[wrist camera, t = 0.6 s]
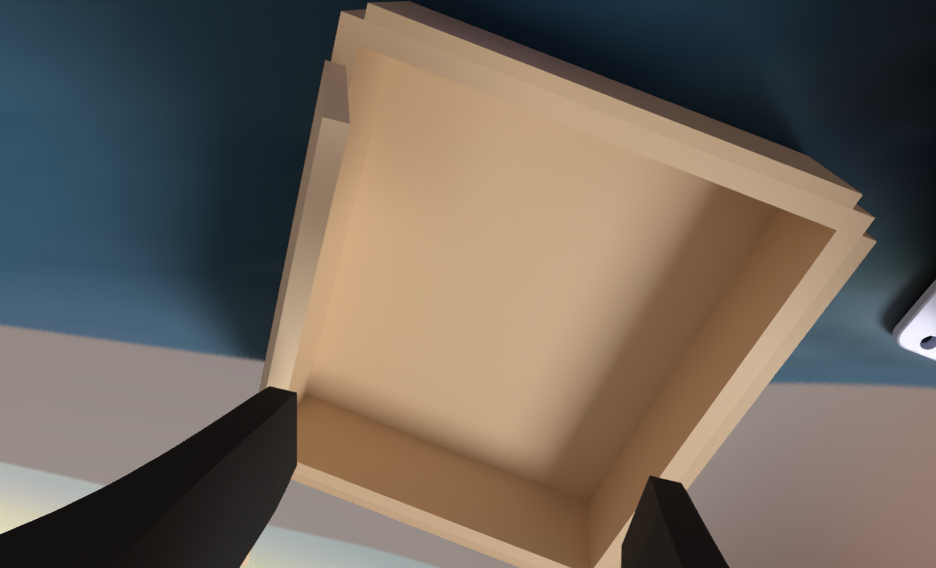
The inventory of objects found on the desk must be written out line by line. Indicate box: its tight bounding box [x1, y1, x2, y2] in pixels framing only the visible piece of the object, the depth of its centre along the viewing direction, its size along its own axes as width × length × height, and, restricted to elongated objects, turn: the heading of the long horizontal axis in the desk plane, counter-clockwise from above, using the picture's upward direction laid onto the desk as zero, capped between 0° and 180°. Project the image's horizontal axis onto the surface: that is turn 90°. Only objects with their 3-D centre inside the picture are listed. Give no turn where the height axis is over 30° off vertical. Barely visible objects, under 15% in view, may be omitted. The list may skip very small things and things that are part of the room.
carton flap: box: [241, 60, 350, 566], centre depth 16 cm, size 4×14×1 cm
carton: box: [289, 1, 877, 568], centre depth 20 cm, size 14×17×4 cm
